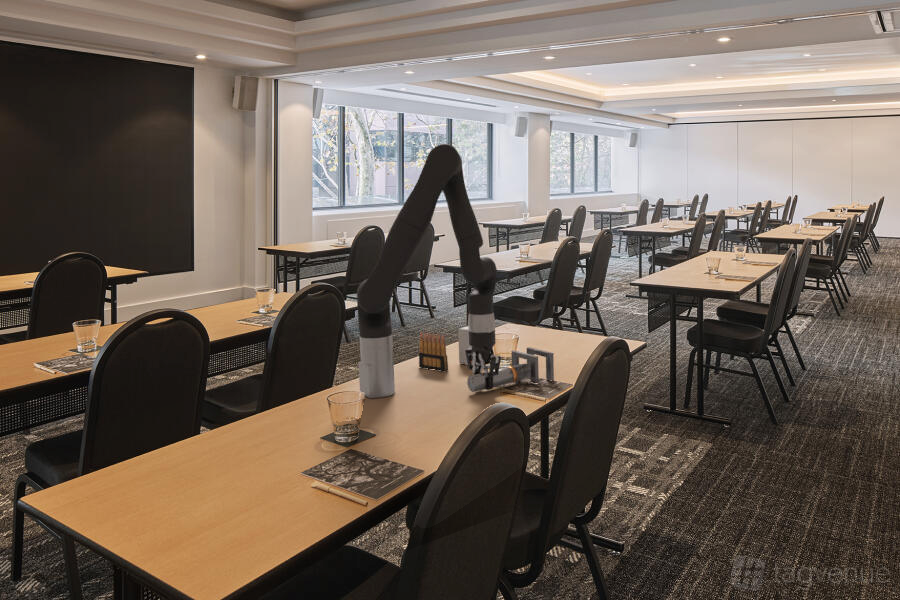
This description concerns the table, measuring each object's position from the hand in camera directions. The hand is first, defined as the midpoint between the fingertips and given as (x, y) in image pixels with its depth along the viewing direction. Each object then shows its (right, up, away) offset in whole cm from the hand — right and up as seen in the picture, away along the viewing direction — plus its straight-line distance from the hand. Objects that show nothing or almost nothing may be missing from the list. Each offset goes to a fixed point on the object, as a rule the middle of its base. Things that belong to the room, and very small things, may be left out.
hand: (483, 387), depth 210 cm
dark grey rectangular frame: (+18, +1, +13) cm, 22 cm away
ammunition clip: (-15, +2, +28) cm, 32 cm away
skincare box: (-3, +4, +33) cm, 34 cm away
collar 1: (+13, +1, +9) cm, 16 cm away
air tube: (+5, 0, +3) cm, 6 cm away
